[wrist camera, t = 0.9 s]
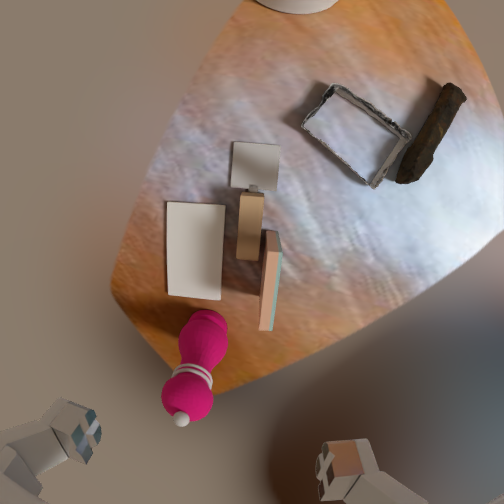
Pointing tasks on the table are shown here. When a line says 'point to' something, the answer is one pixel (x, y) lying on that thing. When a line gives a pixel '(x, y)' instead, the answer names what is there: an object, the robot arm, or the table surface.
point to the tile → (269, 280)
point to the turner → (253, 191)
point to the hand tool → (430, 135)
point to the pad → (195, 249)
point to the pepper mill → (195, 367)
